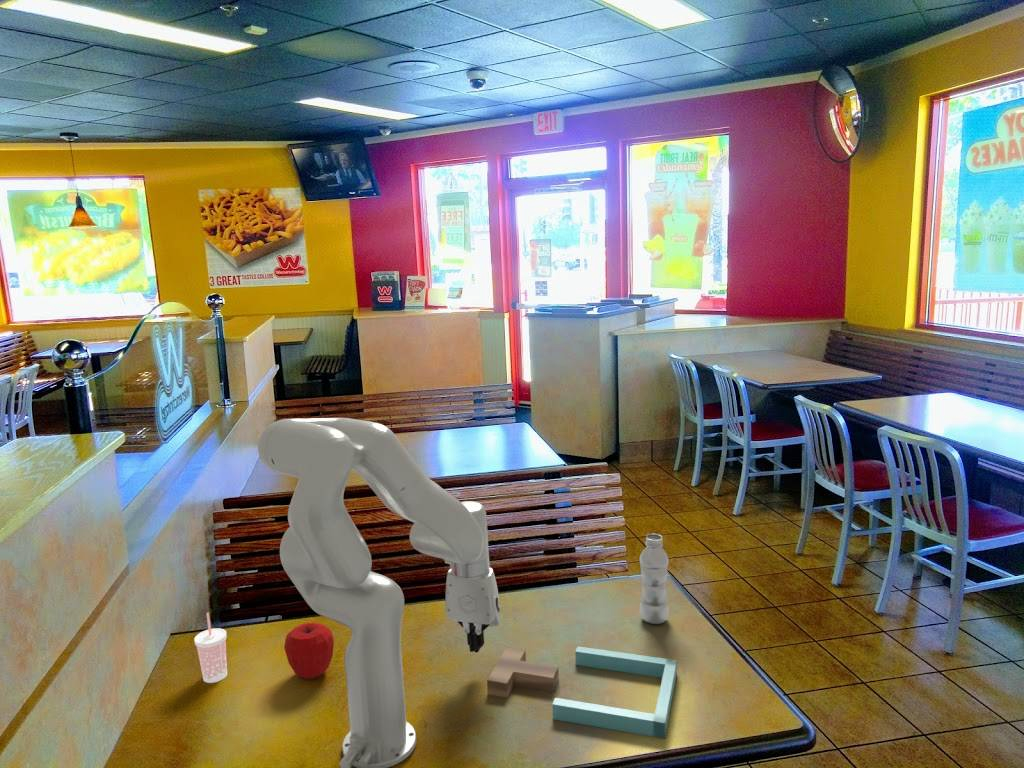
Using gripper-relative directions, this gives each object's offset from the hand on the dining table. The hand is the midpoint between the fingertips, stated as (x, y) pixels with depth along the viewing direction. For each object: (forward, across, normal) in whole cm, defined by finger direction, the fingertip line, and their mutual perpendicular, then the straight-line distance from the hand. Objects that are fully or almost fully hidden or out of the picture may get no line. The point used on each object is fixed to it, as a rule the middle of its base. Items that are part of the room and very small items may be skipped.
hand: (476, 648), depth 148 cm
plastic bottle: (+6, +32, +29) cm, 43 cm away
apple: (+4, -32, -10) cm, 34 cm away
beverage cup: (+4, -51, -16) cm, 54 cm away
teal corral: (+5, +28, -1) cm, 28 cm away
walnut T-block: (+5, +11, -1) cm, 12 cm away
